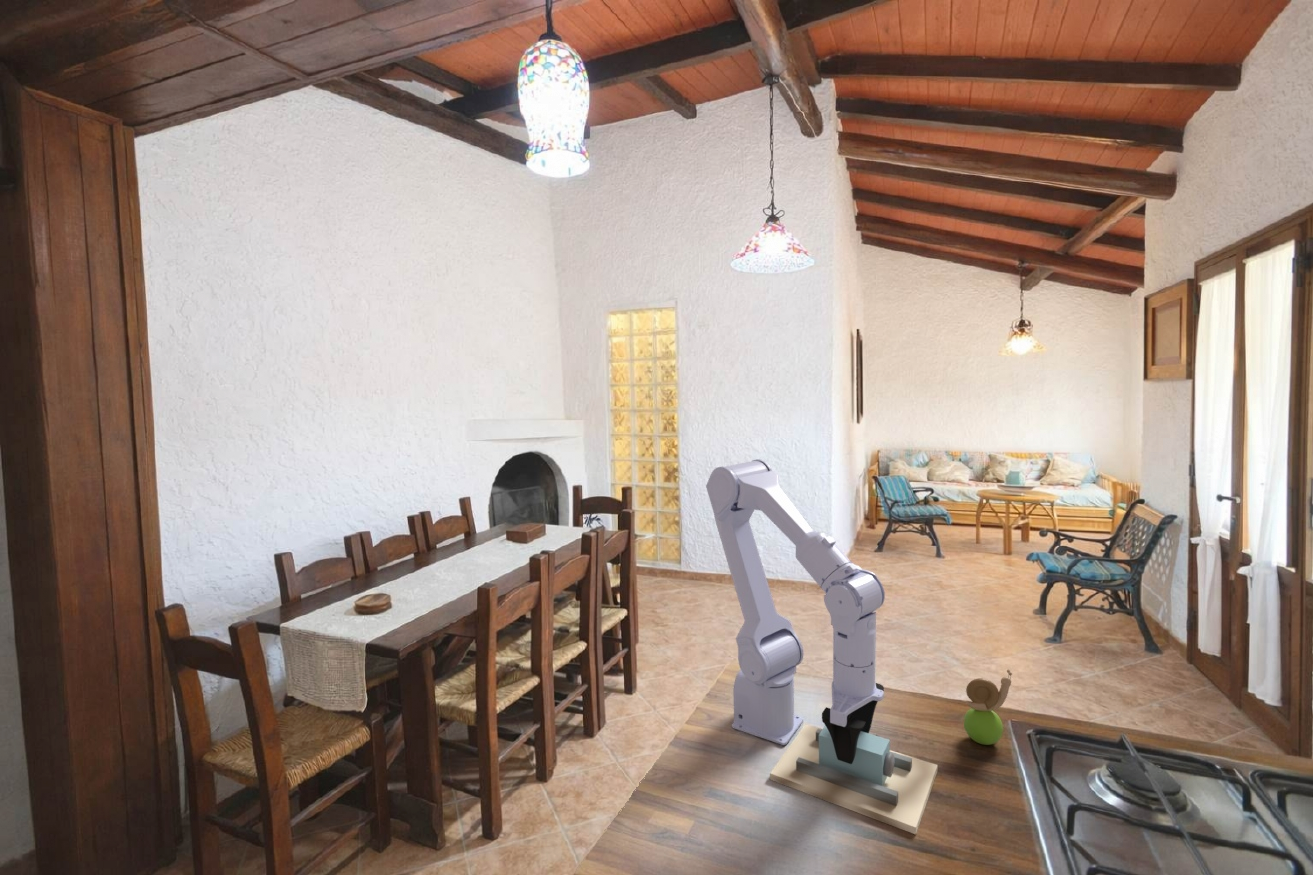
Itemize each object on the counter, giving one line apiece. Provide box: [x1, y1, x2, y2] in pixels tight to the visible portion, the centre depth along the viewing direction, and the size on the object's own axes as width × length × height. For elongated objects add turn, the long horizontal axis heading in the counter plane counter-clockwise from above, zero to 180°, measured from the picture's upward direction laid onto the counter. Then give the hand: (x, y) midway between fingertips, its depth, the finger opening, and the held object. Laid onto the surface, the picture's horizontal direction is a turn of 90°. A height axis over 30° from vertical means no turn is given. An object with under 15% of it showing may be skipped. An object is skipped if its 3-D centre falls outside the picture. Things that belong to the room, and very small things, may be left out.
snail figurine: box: [963, 669, 1013, 746], centre depth 96 cm, size 5×6×12 cm
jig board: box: [769, 723, 939, 835], centre depth 91 cm, size 20×14×2 cm
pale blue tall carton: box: [819, 725, 895, 786], centre depth 90 cm, size 10×4×5 cm, turn 56°
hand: (853, 745), depth 90 cm, fingers open, 7 cm apart
